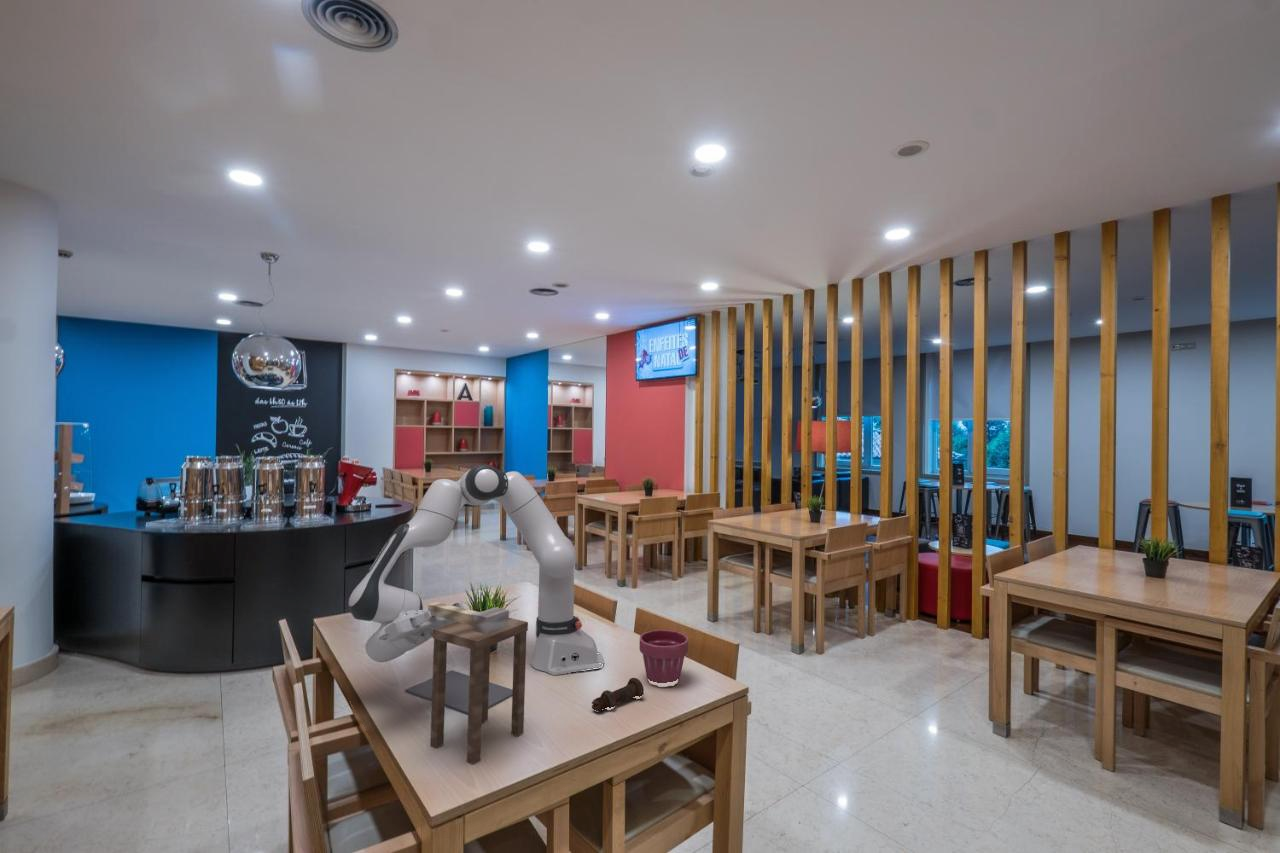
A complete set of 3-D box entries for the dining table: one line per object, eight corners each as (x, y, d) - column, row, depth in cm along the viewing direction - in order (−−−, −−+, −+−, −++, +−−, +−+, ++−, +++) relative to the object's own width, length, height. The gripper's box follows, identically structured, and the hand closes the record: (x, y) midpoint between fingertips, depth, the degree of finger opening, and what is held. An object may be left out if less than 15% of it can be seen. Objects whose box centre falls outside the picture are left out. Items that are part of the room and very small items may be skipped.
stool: (428, 746, 127) (433, 629, 128) (481, 717, 141) (485, 612, 142) (473, 765, 120) (477, 641, 121) (524, 733, 134) (528, 622, 135)
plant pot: (656, 696, 155) (657, 649, 156) (629, 678, 167) (630, 634, 167) (697, 685, 163) (698, 640, 163) (668, 668, 175) (669, 626, 175)
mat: (405, 691, 154) (405, 689, 154) (451, 672, 168) (451, 670, 168) (473, 716, 141) (473, 714, 141) (517, 693, 155) (517, 691, 155)
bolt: (592, 720, 145) (635, 700, 155) (603, 716, 142) (646, 697, 152) (585, 696, 147) (628, 679, 157) (596, 692, 144) (639, 675, 154)
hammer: (420, 616, 137) (420, 601, 137) (443, 609, 143) (444, 595, 143) (486, 633, 126) (486, 617, 126) (508, 625, 132) (508, 609, 132)
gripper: (371, 628, 135) (405, 607, 130) (440, 607, 153) (472, 588, 147) (378, 654, 134) (413, 634, 128) (447, 630, 151) (480, 611, 145)
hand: (445, 609), depth 138 cm, fingers open, 7 cm apart
